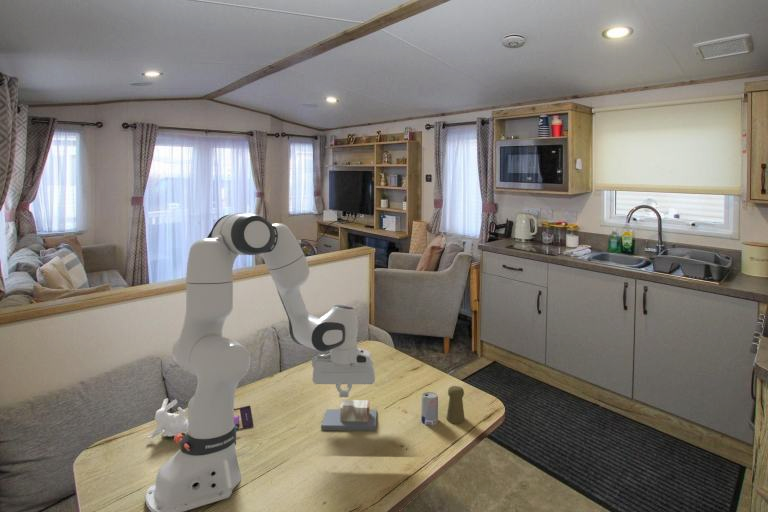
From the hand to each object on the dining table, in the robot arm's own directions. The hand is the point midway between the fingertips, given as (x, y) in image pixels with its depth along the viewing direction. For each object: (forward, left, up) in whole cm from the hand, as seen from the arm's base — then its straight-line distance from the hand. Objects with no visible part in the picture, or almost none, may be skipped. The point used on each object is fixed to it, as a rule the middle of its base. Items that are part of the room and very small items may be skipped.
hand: (344, 396), depth 138 cm
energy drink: (+21, -19, -12) cm, 30 cm away
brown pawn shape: (+28, -24, -9) cm, 38 cm away
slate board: (+1, -1, -8) cm, 9 cm away
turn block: (-1, 0, -5) cm, 5 cm away
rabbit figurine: (-44, +30, -9) cm, 54 cm away
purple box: (-23, +20, -7) cm, 31 cm away
